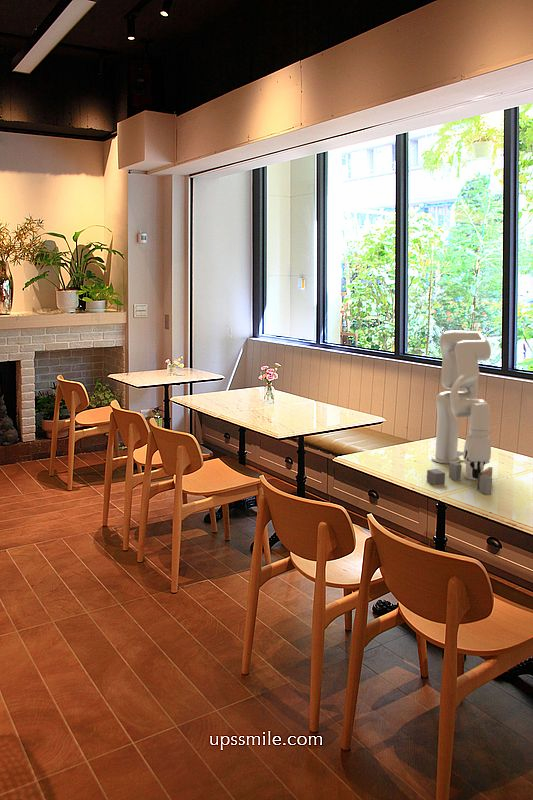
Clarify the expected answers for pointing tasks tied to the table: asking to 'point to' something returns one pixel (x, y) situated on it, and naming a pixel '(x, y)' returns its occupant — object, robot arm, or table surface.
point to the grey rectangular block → (435, 477)
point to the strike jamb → (455, 471)
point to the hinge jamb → (485, 485)
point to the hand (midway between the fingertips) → (476, 477)
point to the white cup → (470, 472)
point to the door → (486, 472)
